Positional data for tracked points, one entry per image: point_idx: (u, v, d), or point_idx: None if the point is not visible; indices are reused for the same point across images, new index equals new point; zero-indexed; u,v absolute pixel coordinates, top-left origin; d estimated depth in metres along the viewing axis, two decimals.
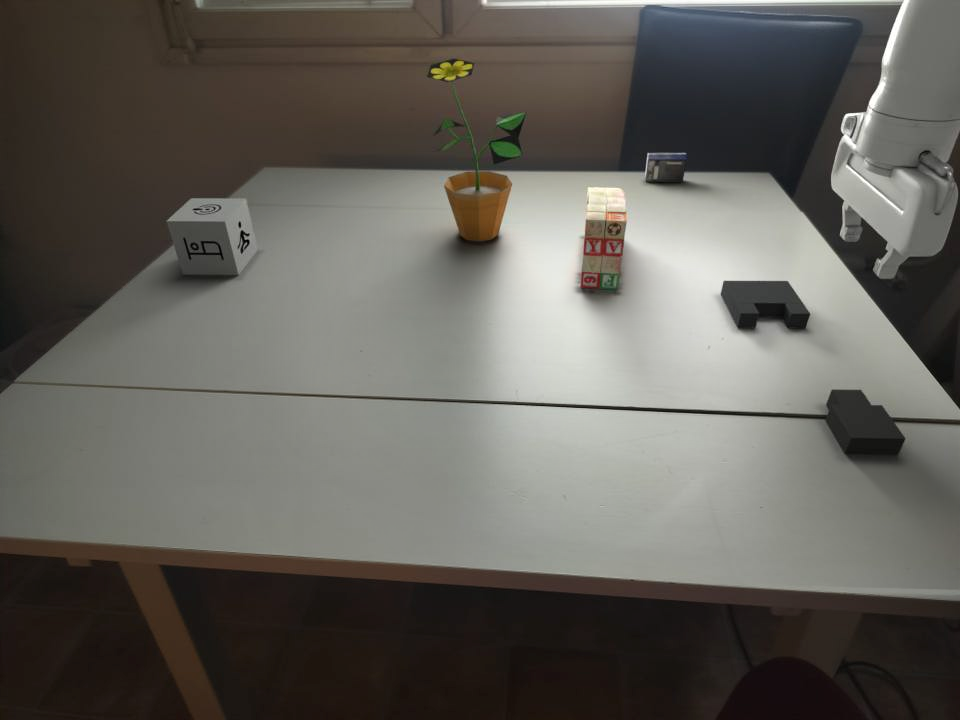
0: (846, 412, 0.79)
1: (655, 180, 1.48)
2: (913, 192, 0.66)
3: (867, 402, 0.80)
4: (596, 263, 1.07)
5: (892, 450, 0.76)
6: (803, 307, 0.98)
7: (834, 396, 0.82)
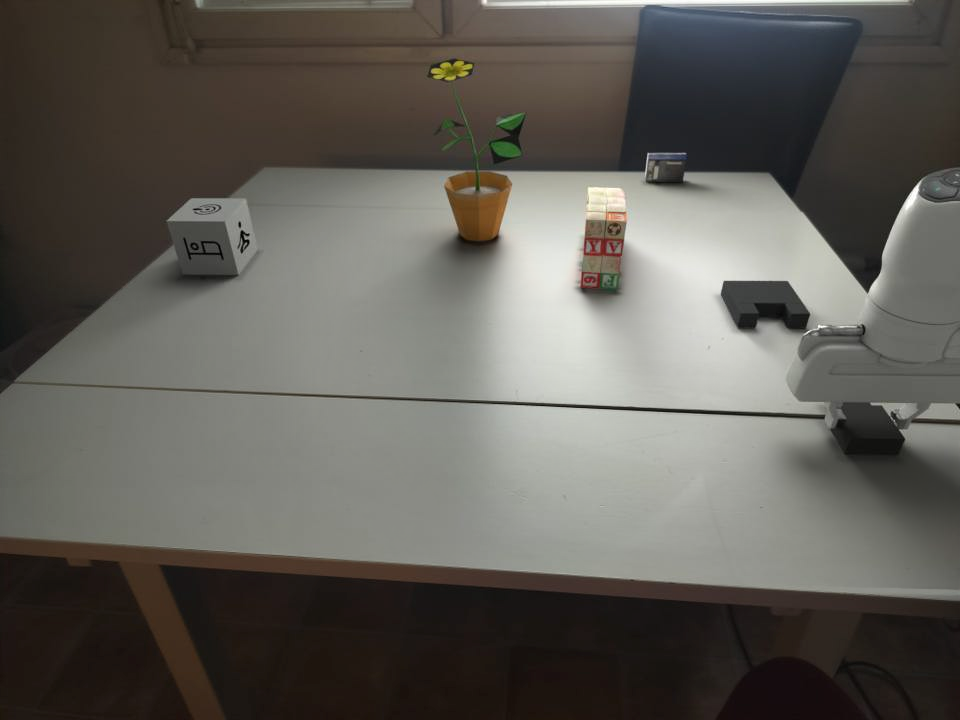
0: (846, 412, 0.79)
1: (655, 180, 1.48)
2: None
3: None
4: (596, 263, 1.07)
5: (892, 450, 0.76)
6: (803, 307, 0.98)
7: None
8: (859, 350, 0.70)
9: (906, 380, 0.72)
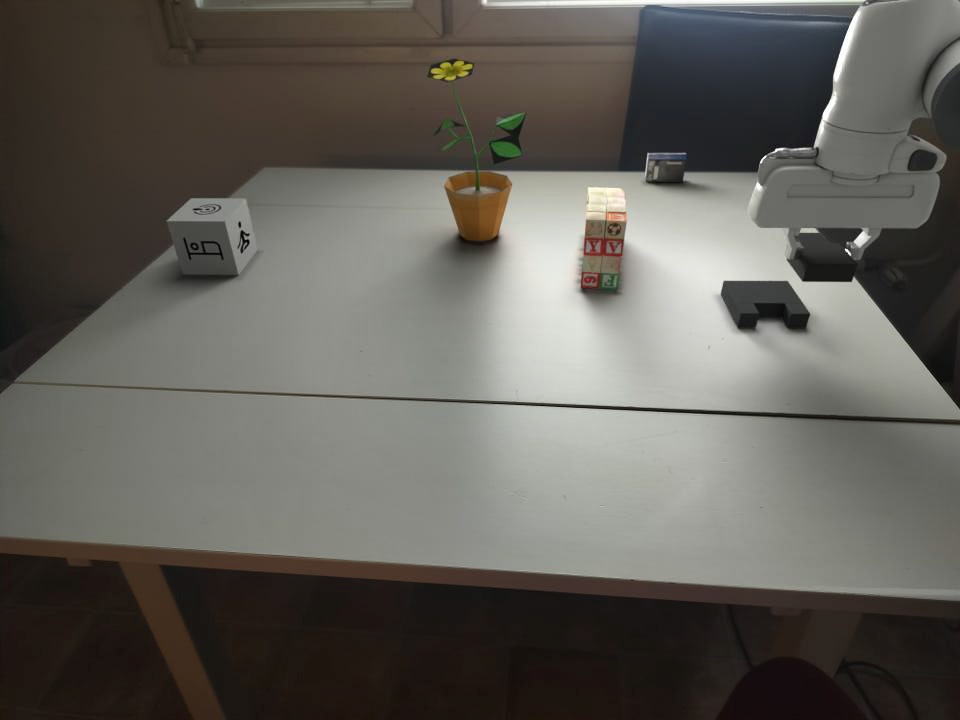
0: (805, 247, 0.84)
1: (655, 180, 1.48)
2: None
3: (825, 240, 0.86)
4: (596, 263, 1.07)
5: (846, 277, 0.82)
6: (803, 307, 0.98)
7: (795, 238, 0.87)
8: (813, 170, 0.76)
9: (857, 202, 0.77)
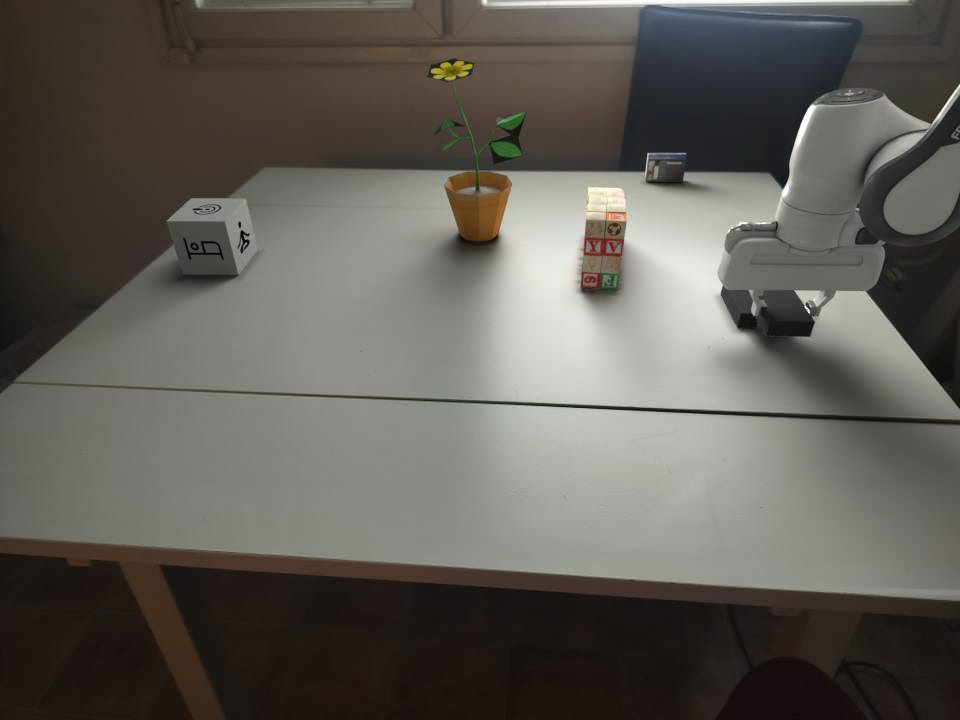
0: (769, 304, 0.94)
1: (655, 180, 1.48)
2: None
3: (788, 297, 0.96)
4: (596, 263, 1.07)
5: (805, 332, 0.92)
6: None
7: None
8: (773, 242, 0.86)
9: (813, 269, 0.87)
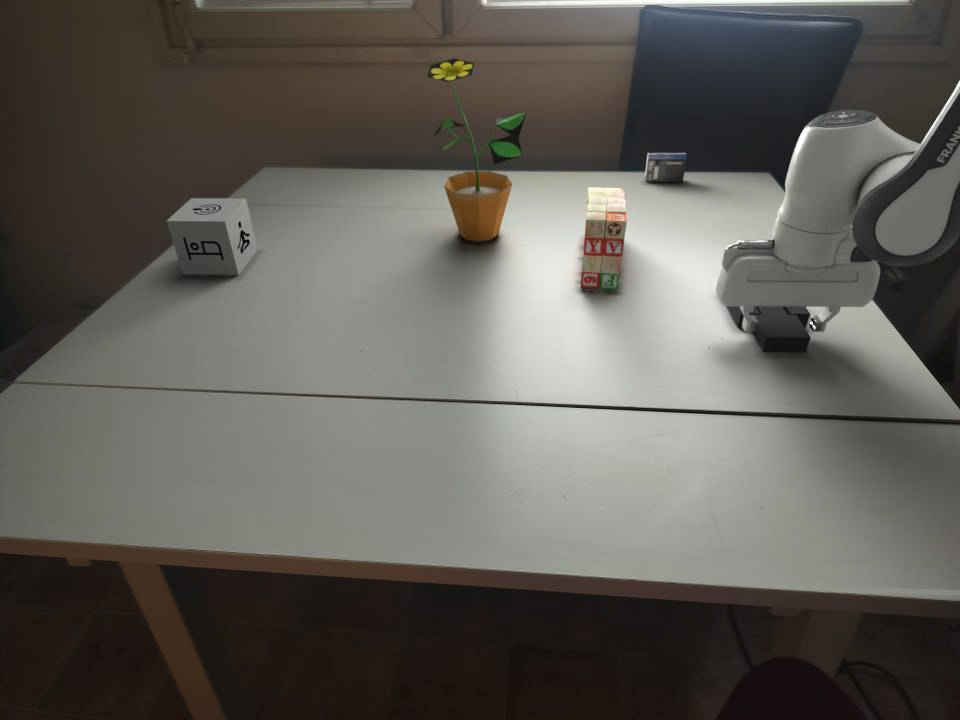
0: (766, 319, 0.96)
1: (655, 180, 1.48)
2: None
3: (784, 313, 0.97)
4: (596, 263, 1.07)
5: (801, 348, 0.93)
6: (803, 307, 0.98)
7: (758, 309, 0.99)
8: (769, 260, 0.87)
9: (809, 285, 0.89)
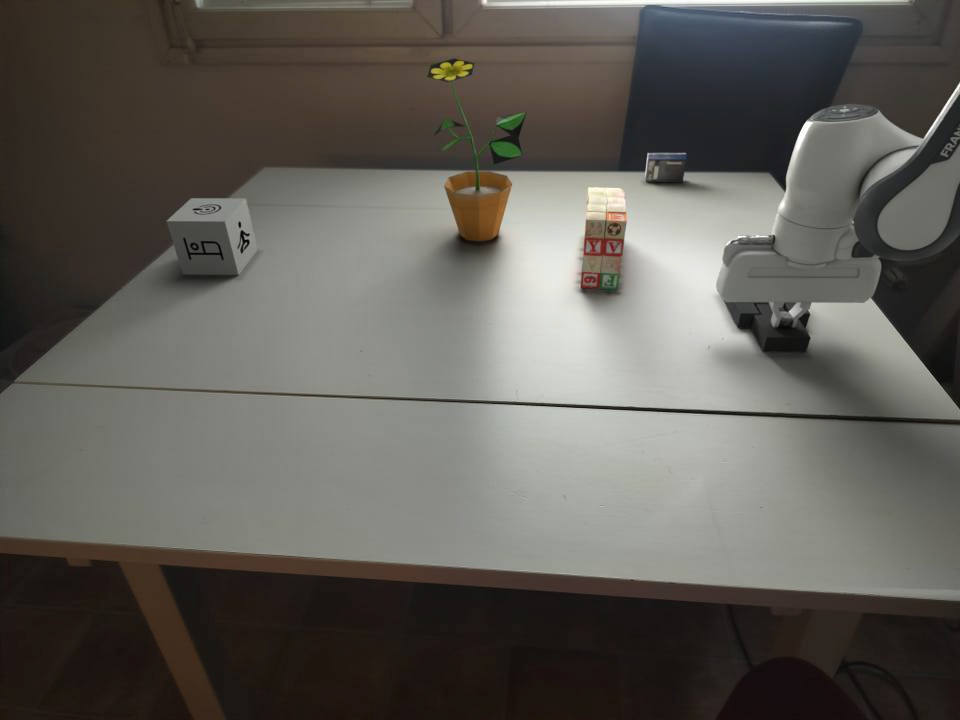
0: (766, 320, 0.96)
1: (655, 180, 1.48)
2: None
3: None
4: (596, 263, 1.07)
5: (801, 348, 0.93)
6: None
7: (758, 309, 0.99)
8: (770, 255, 0.87)
9: (810, 281, 0.88)
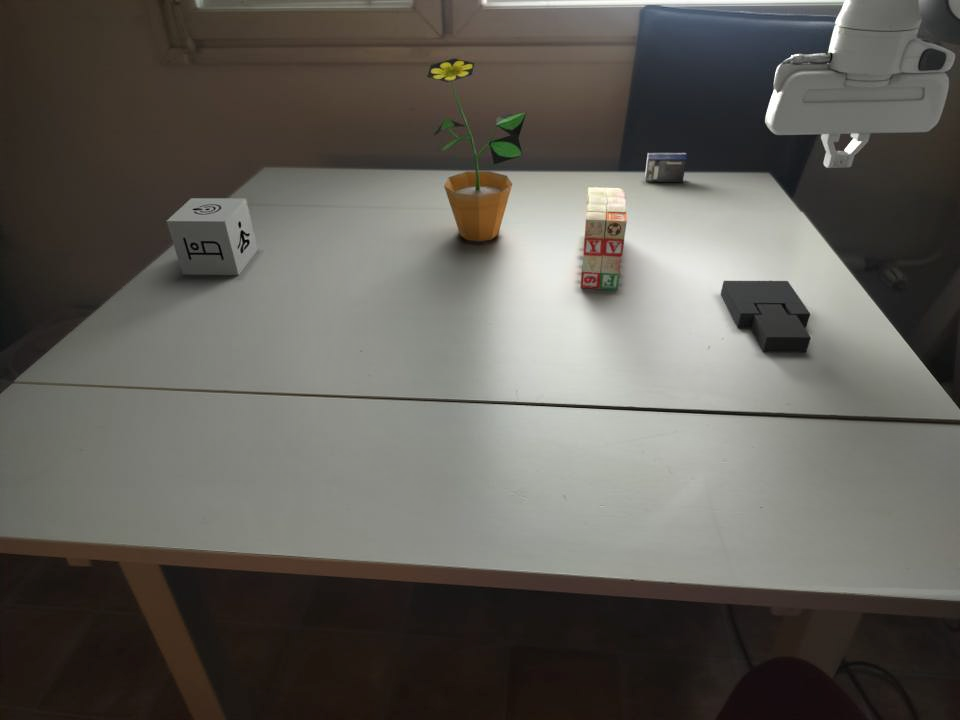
0: (766, 320, 0.96)
1: (655, 180, 1.48)
2: None
3: (784, 313, 0.97)
4: (596, 263, 1.07)
5: (801, 348, 0.93)
6: (803, 307, 0.98)
7: (758, 309, 0.99)
8: (827, 74, 0.79)
9: (870, 106, 0.81)
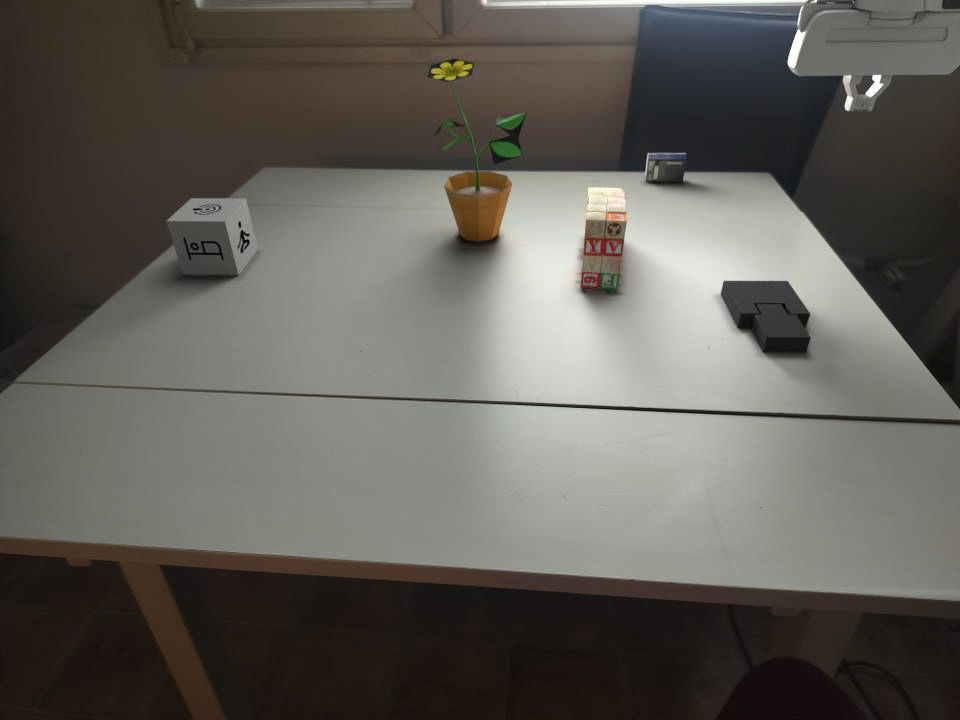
0: (766, 320, 0.96)
1: (655, 180, 1.48)
2: None
3: (784, 313, 0.97)
4: (596, 263, 1.07)
5: (801, 348, 0.93)
6: (803, 307, 0.98)
7: (758, 309, 0.99)
8: (852, 13, 0.80)
9: (893, 46, 0.82)
